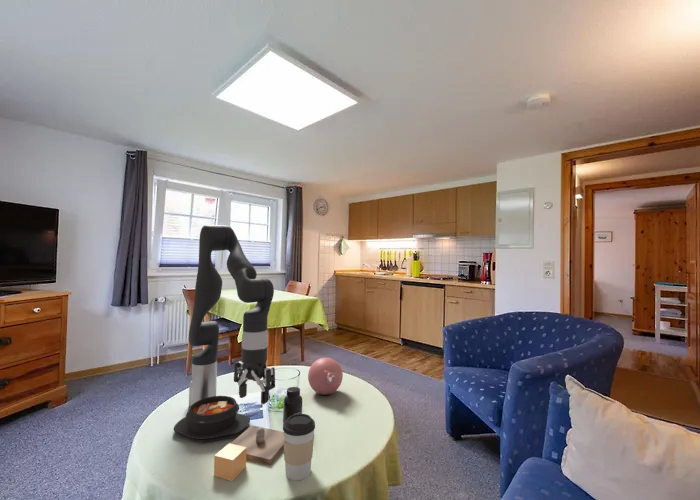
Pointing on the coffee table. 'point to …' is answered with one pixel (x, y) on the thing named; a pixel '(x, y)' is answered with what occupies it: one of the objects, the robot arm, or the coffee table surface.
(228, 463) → the peach cube
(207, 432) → the casserole
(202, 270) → the robot arm
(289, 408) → the supplement bottle
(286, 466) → the coffee cup
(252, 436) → the post stand
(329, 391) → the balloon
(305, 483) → the coffee table surface
